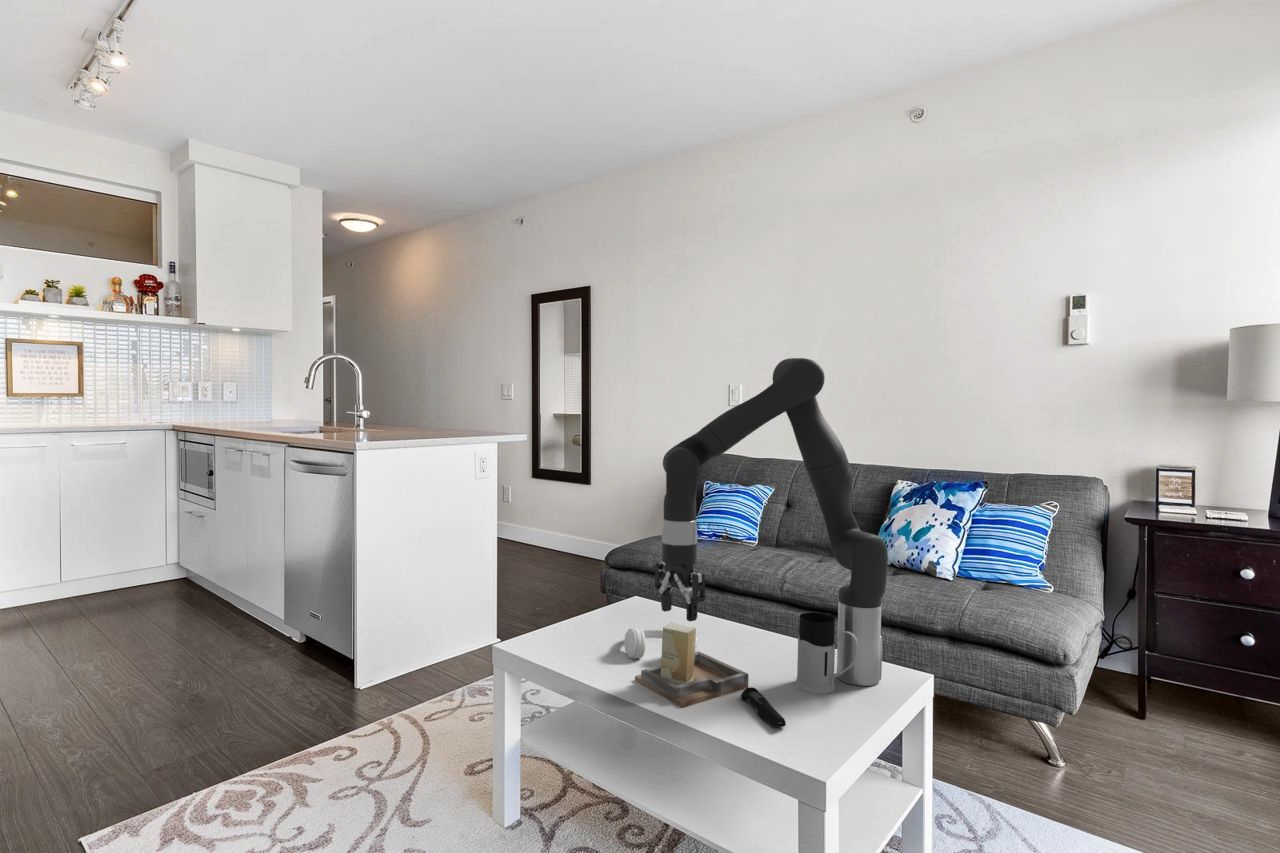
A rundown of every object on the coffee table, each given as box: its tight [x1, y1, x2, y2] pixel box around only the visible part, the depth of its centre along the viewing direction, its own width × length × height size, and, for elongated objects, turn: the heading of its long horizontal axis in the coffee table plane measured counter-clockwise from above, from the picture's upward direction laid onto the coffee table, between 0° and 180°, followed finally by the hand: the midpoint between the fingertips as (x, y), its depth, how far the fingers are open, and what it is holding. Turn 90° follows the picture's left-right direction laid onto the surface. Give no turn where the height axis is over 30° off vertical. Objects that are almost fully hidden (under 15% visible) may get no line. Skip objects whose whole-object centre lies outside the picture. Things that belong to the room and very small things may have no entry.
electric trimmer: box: [740, 687, 787, 728], centre depth 132 cm, size 4×16×3 cm, turn 14°
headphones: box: [623, 627, 699, 660], centre depth 167 cm, size 7×18×20 cm
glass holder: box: [794, 612, 858, 695], centre depth 145 cm, size 9×14×15 cm, turn 42°
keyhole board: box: [634, 651, 749, 708], centre depth 146 cm, size 18×16×3 cm
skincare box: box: [660, 622, 697, 686], centre depth 143 cm, size 6×4×12 cm
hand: (678, 615), depth 144 cm, fingers open, 8 cm apart
